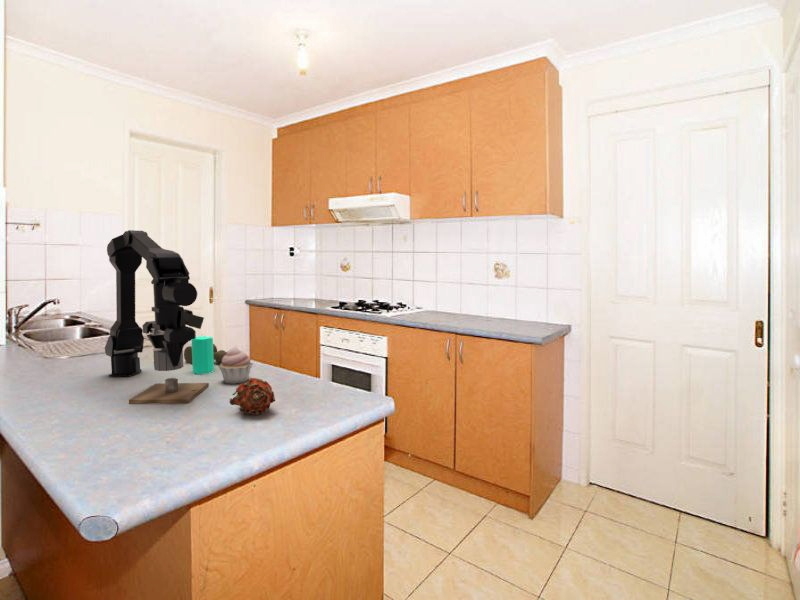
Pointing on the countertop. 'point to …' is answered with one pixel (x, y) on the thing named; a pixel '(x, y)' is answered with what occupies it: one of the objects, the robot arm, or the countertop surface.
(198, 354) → the candle
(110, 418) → the countertop surface
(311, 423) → the countertop surface
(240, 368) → the cupcake
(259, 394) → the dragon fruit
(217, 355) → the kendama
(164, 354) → the gray faceted pot
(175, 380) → the square brown plate
